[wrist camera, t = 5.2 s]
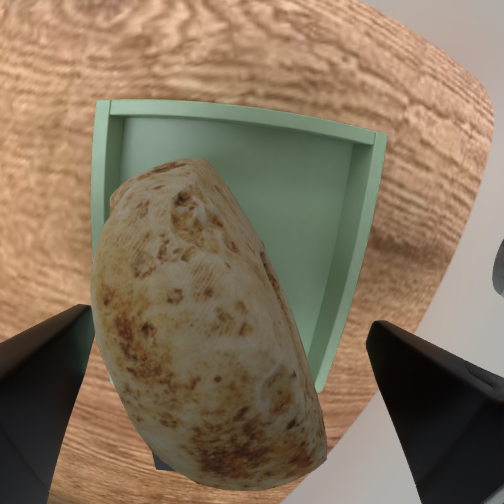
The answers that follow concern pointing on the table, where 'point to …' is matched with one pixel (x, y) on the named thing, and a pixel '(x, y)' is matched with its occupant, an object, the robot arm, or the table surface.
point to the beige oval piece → (203, 334)
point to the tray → (263, 192)
